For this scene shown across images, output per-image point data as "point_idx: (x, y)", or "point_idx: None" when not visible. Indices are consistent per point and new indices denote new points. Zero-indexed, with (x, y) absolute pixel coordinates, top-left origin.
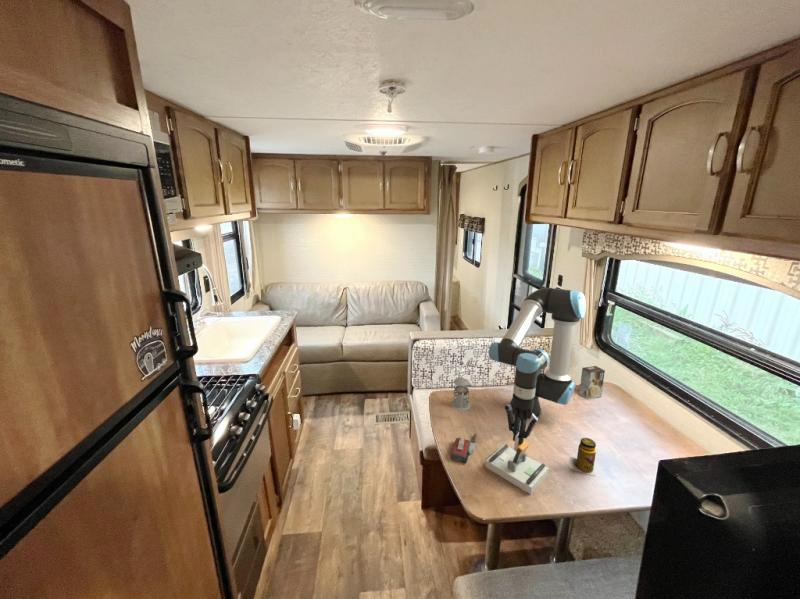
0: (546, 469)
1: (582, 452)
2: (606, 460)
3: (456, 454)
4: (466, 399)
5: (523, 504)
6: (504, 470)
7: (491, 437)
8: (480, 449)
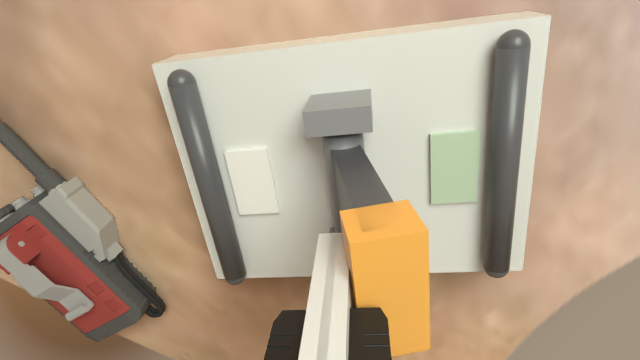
0: (542, 50)
1: None
2: None
3: (106, 334)
4: None
5: (503, 307)
6: None
7: (21, 3)
8: (104, 166)
